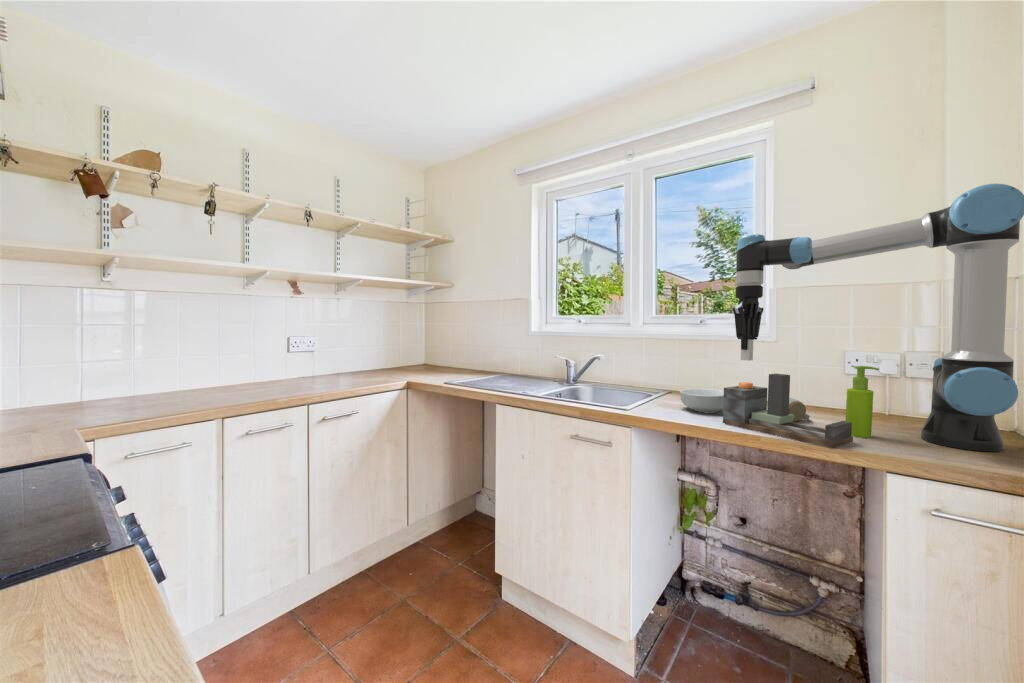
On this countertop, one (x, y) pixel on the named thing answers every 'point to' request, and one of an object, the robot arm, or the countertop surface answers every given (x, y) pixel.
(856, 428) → the soap dispenser
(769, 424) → the rail track
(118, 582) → the countertop surface
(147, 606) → the countertop surface
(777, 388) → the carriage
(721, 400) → the cereal bowl
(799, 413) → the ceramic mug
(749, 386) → the button
